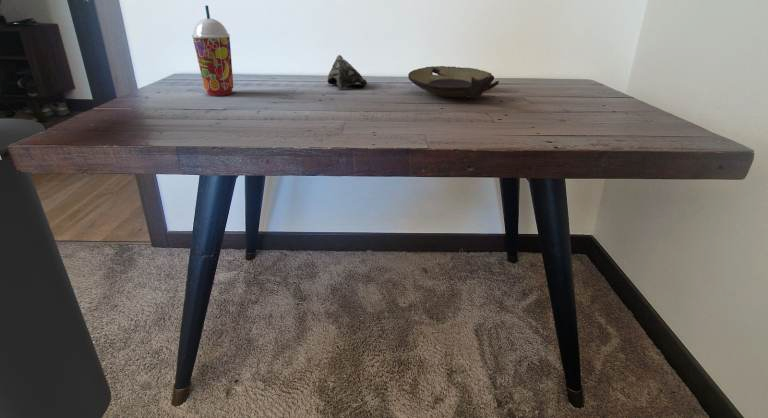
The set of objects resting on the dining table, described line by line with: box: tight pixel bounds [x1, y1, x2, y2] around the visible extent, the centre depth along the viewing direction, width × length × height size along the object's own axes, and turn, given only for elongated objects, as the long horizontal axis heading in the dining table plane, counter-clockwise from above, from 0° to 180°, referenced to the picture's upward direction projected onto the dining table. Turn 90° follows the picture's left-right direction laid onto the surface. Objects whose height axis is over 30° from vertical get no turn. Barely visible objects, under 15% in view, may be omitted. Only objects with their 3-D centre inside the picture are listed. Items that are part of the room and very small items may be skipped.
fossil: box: [326, 54, 368, 90], centre depth 118 cm, size 11×9×10 cm
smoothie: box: [191, 5, 234, 97], centre depth 105 cm, size 8×8×20 cm
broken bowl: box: [407, 65, 500, 99], centre depth 108 cm, size 22×30×8 cm
